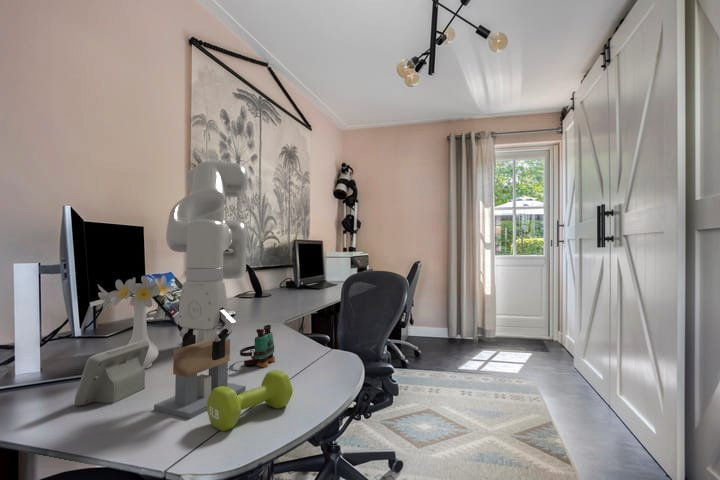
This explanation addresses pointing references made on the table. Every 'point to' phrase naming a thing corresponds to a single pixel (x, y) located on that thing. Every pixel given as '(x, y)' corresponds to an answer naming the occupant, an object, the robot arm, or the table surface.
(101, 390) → the digital clock
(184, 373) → the tan bar
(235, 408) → the dumbbell
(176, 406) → the display stand
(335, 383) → the table surface
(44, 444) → the table surface
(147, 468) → the table surface
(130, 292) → the flower vase
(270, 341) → the binoculars
